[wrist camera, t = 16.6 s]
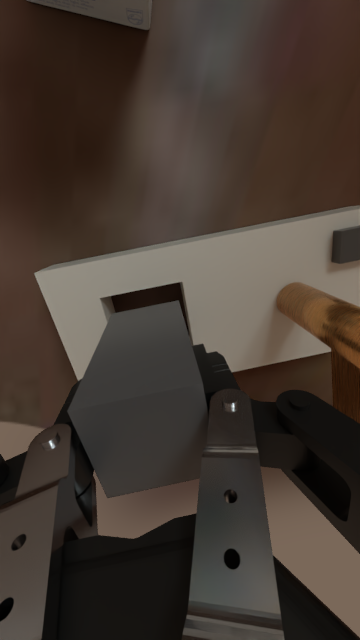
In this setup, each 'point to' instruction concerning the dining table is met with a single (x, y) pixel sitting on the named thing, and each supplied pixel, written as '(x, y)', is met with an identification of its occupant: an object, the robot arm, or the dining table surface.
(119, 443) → the plug
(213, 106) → the dining table surface
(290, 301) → the orange lever handle
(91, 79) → the dining table surface
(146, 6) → the light bulb box
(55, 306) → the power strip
